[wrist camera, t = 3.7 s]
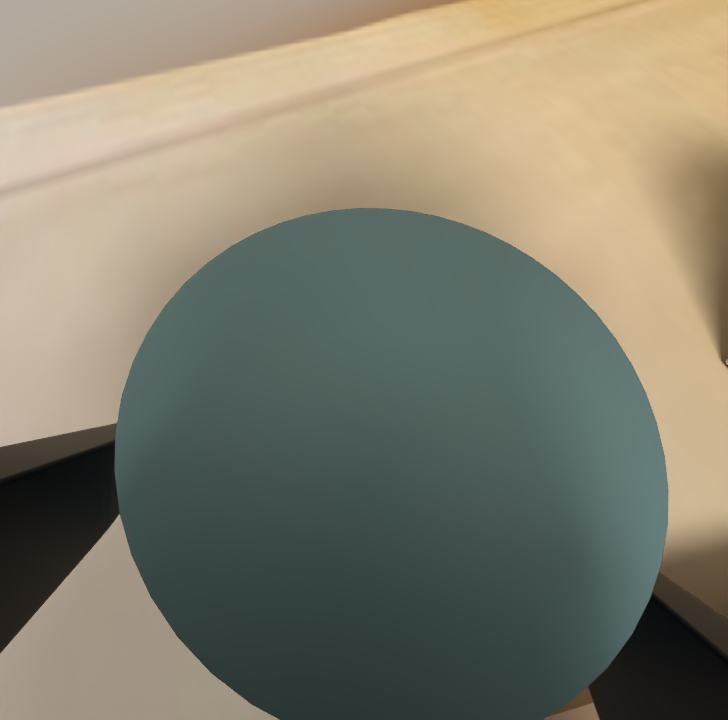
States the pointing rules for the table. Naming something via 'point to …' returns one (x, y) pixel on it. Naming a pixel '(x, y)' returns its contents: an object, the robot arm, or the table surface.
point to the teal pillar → (390, 474)
